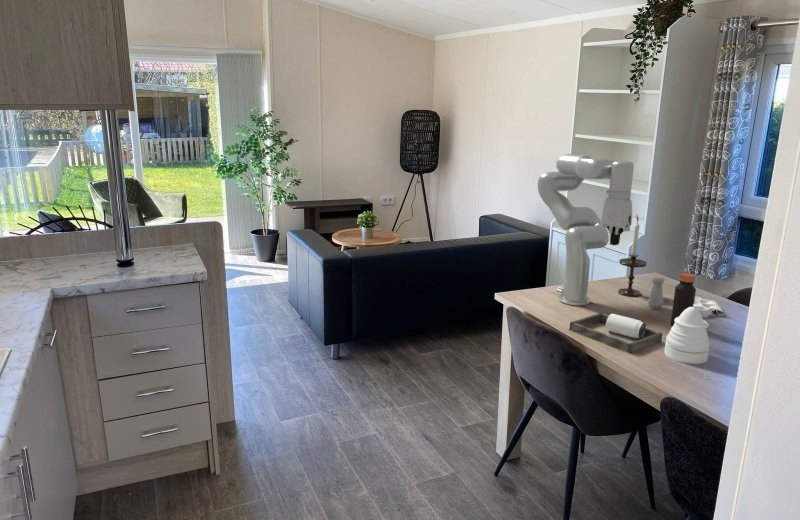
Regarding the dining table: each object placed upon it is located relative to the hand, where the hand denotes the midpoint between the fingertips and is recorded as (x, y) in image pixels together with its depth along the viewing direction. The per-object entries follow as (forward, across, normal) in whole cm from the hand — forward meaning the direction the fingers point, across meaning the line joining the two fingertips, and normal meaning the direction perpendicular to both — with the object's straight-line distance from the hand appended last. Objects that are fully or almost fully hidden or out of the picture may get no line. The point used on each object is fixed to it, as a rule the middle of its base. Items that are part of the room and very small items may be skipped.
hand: (614, 244), depth 217 cm
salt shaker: (+29, +4, +26) cm, 39 cm away
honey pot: (+29, +36, -8) cm, 47 cm away
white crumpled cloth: (+30, +16, +39) cm, 52 cm away
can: (+26, +8, -10) cm, 29 cm away
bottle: (+29, +21, +15) cm, 39 cm away
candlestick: (+29, -13, +34) cm, 47 cm away
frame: (+29, +12, -13) cm, 34 cm away
